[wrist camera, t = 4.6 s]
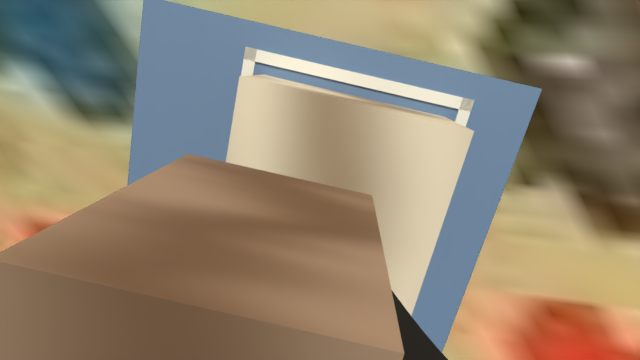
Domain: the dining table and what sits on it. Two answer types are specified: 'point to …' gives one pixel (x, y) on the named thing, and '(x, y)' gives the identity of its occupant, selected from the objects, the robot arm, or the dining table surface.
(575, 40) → the dining table surface
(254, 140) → the birch block
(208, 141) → the board
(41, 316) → the walnut block
